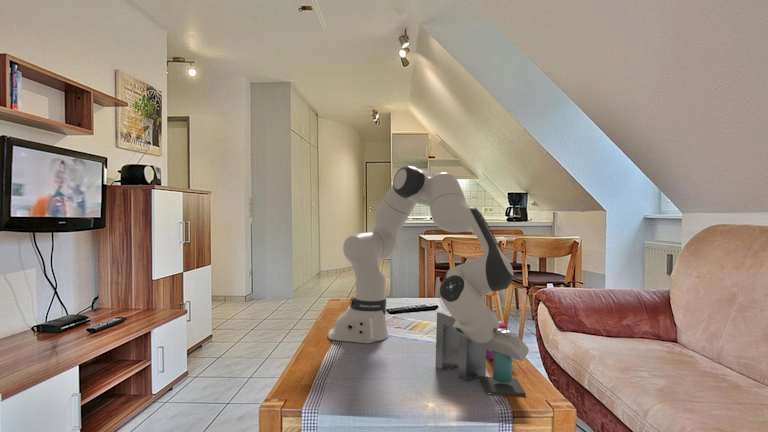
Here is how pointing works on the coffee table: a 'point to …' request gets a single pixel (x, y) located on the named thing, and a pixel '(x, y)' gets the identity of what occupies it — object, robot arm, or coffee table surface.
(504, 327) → the supplement box
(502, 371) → the teal cylindrical piece
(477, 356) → the housing
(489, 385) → the mat
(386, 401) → the coffee table surface
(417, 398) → the coffee table surface
